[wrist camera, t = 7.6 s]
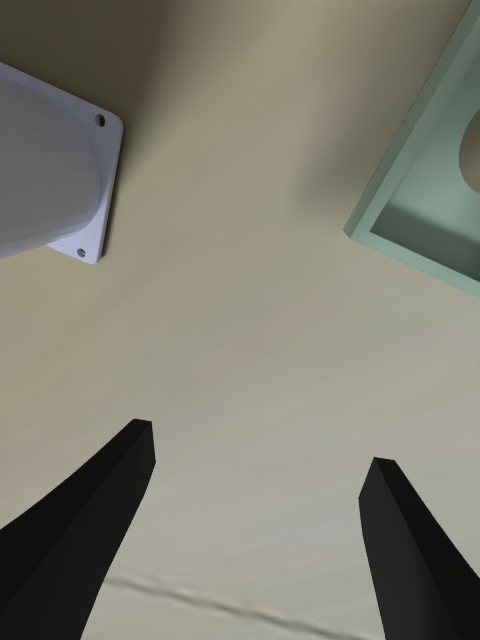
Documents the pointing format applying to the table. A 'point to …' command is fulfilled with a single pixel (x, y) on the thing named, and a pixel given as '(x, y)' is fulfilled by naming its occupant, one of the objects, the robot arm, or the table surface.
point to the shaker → (471, 153)
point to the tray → (431, 174)
